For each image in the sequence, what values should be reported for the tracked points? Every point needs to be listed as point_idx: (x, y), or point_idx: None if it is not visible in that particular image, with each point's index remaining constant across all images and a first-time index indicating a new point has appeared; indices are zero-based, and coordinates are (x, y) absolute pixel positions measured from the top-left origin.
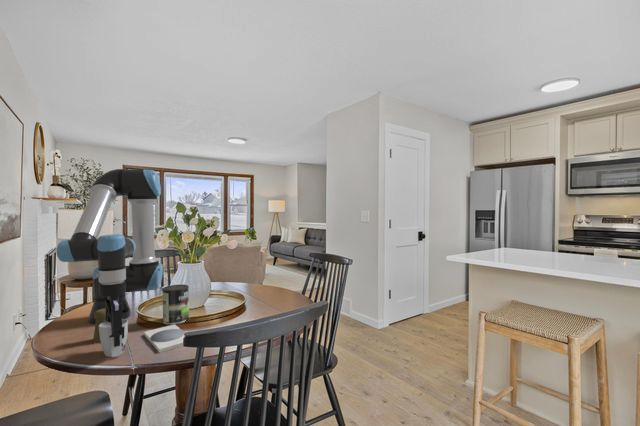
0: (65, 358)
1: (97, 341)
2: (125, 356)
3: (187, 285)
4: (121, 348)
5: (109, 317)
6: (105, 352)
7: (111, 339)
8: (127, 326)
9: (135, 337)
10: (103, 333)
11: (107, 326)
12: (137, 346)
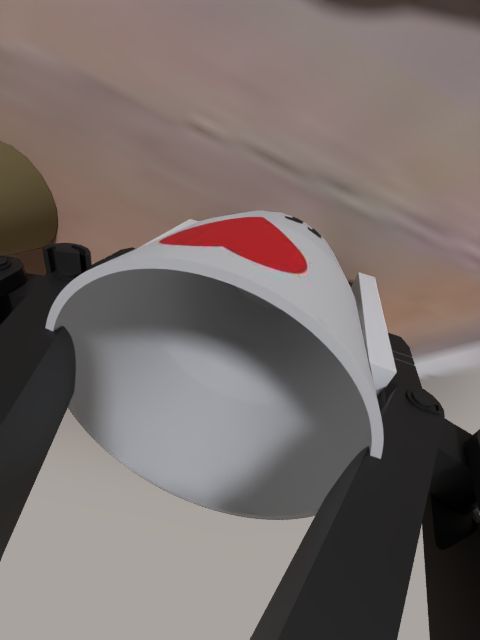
0: None
1: (42, 243)
2: (394, 257)
3: None
4: (377, 298)
5: (47, 436)
6: (278, 331)
7: None
8: (319, 283)
9: (93, 4)
10: (271, 460)
11: (111, 361)
12: (306, 101)
